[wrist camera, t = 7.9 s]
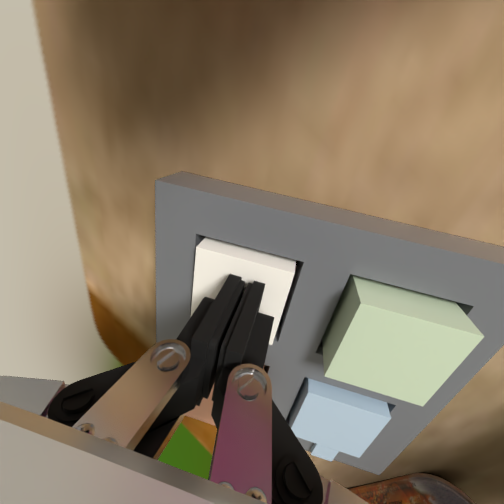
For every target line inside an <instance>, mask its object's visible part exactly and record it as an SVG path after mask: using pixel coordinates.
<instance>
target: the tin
mask: <svg viewBox="0 0 504 504" xmlns="http://www.w3.org/2000/svg"><path fill="white" fill-rule="evenodd" d="M348 490H349V491H351V492H352V493H354V494H356V495H357V496H359V497H360V498H362V499H363V500H365V501H366V502H368V503H369V504H476V503H475V502H474V501H473V500H472V499H471V498H470V497H468V496H467V495H466V494H465V493H464V492H463V491H461V490H460V489H459V488H457V487H456V486H455V485H453V484H451V483H450V482H448V481H446V480H444V479H442V478H440V477H437V476H434V475H431V474H426V473H413V474H409V475H405V476H400V477H396V478H392V479H388V480H384V481H380V482H376V483H372V484H368V485H363V486H359V487H355V488H350V489H348Z"/></svg>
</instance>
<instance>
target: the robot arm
mask: <svg viewBox="0 0 504 504" xmlns="http://www.w3.org/2000/svg"><path fill="white" fill-rule="evenodd" d="M244 286H245V281H242V277H240V276H236V275H233V274H229V276H228V278H227V279H226V281H225V283H224V284H223V286H222V288H221V290H220V291H219V293H218V295H217V296H216V298H215V299H212V298H209V297H204V298H203V299H202V301H201V302H200V304H199V305H198V307H197V308H196V310H195V311H194V313H193V314H192V316H191V317H190V319H189V321H188V322H187V324H186V325H185V327H184V328H183V330H182V331H181V333H180V334H179V336H178V337H177V339H167V340H162V341H160V342H158V343H156V344H154V345H153V346H152V347H151V348H150V349H149V350H148V351H147V352H146V353H145V354H144V355H143V356H142V357H141V358H140V359H139V360H138V361H136V362H133V363H130V364H127V365H124V366H121V367H119V368H115V369H113V370H110V371H106V372H103V373H100V374H97V375H94V376H91V377H88V378H85V379H82V380H80V381H77V382H75V383H73V384H70V385H67V384H65V383H64V381H57V380H46V379H35V378H23V377H12V376H0V504H369V503H368V502H366V501H365V500H363V499H362V498H360V497H359V496H357V495H356V494H354V493H352V492H351V491H349V490H348V489H346V488H345V487H343V486H342V485H340V484H339V483H337V482H336V481H334V480H333V479H331V480H330V481H329V480H327V479H326V478H324V477H323V476H321V475H320V474H319V473H318V471H317V469H316V467H315V465H314V464H313V462H312V461H311V459H310V457H309V456H308V454H307V453H306V451H305V450H304V448H303V447H302V445H301V443H300V442H299V440H298V439H297V437H296V436H295V434H294V432H293V431H292V429H291V428H290V426H289V425H288V423H287V422H286V420H285V418H284V417H283V415H282V414H281V412H280V411H279V409H278V408H277V406H276V404H275V403H274V401H273V400H272V384H271V380H270V378H269V376H268V374H267V373H266V372H265V371H264V370H263V368H264V364H265V359H266V354H267V350H268V345H269V340H270V336H271V331H272V326H273V321H274V317H273V316H269V315H266V314H263V313H259V308H260V304H261V300H262V296H263V292H264V288H265V283H261V282H258V281H254V282H253V283H248V285H247V287H246V289H245V292H244V294H243V291H244ZM214 382H215V383H214ZM213 385H214V389H213V395H212V401H213V407H212V412H211V416H212V418H213V420H214V423H215V425H216V427H217V434H216V439H215V445H214V450H213V456H212V461H211V467H210V472H209V478H208V480H206V479H204V478H201V477H199V476H196V475H193V474H191V473H188V472H186V471H183V470H181V469H178V468H176V467H173V466H170V465H168V464H165V463H163V462H160V461H158V458H159V456H160V455H161V453H162V452H163V450H164V449H165V447H166V445H167V444H168V442H169V441H170V439H171V437H172V435H173V434H174V432H175V431H176V429H177V428H178V426H179V424H180V423H181V421H182V420H183V417H184V415H185V413H187V412H189V411H191V410H193V409H194V408H195V406H196V405H197V406H200V404H201V401H202V399H203V398H206V399H208V397H209V395H210V392H211V390H212V387H213Z"/></svg>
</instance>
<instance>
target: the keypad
mask: <svg viewBox="0 0 504 504" xmlns="http://www.w3.org/2000/svg"><path fill="white" fill-rule="evenodd" d="M155 226H156V343H158V342H160V341H162V340H167V339H177V337H178V336H179V334H180V333H181V331H182V330H183V328H184V327H185V325H186V324H187V322H188V321H189V319H190V317H191V306H192V293H193V281H194V268H195V256H196V247H197V246H198V245H199V244H200V243H201V241H202V240H203V239H204V238H205V237H210V238H214V239H218V240H222V241H225V242H229V243H233V244H237V245H241V246H245V247H248V248H252V249H256V250H260V251H264V252H268V253H272V254H275V255H279V256H283V257H287V258H291V259H295V260H298V264H297V267H296V270H295V274H294V277H293V280H292V283H291V287H290V290H289V293H288V296H287V299H286V303H285V306H284V309H283V312H282V315H281V319H280V322H279V325H278V328H277V331H276V335H275V338H274V341H273V344H272V345H270V344H269V345H268V350H267V354H266V359H265V364H264V365H266V366H265V369H264V371H265V372H266V373H267V374H268V376H269V378H270V380H271V384H272V400H273V401H274V403H275V404H276V406H277V408H278V409H279V411H280V412H281V414H282V415H283V417H284V418H285V420H286V422H287V423H288V425H289V419H290V409H291V407H292V405H293V402H294V400H295V398H296V396H297V393H298V391H299V389H300V387H301V384H302V382H303V380H304V378H305V377H306V378H309V379H313V380H316V381H319V382H322V383H326V384H329V385H332V386H335V387H338V388H342V389H345V390H348V391H351V392H355V393H358V394H361V395H364V396H368V397H371V398H374V399H377V400H380V401H384V402H387V405H388V408H389V412H390V416H391V419H390V420H389V422H388V423H387V424H386V425H385V427H384V428H383V429H382V430H381V432H380V433H379V434H378V435H377V437H376V438H375V439H374V440H373V442H372V443H371V444H370V445H369V447H368V448H367V449H366V450H365V451H364V453H363V454H362V455H361V456H360V458H358V457H355V456H352V455H349V454H346V453H343V452H340V451H337V450H334V449H331V448H328V447H325V446H322V445H319V444H316V443H313V442H310V441H307V440H304V439H301V438H298V437H297V439H298V440H299V442H300V443H301V445H302V447H303V448H304V450H306V451H309V452H311V455H314V456H316V457H319V458H322V459H325V460H328V461H331V462H332V460H336V461H339V462H342V463H345V464H347V465H350V466H353V467H356V468H359V469H362V470H365V471H368V472H371V473H374V474H377V475H380V474H381V473H382V472H383V471H384V470H385V469H386V468H387V467H388V466H389V465H390V464H391V463H392V462H393V460H394V459H395V458H396V457H397V456H398V455H399V454H400V453H401V452H402V451H403V450H404V449H405V448H406V447H407V446H408V445H409V444H410V443H411V442H412V441H413V439H414V438H415V437H416V436H417V435H418V434H419V433H420V432H421V431H422V430H423V429H424V428H425V427H426V426H427V425H428V424H429V423H430V422H431V421H432V420H433V419H434V417H435V416H436V415H437V414H438V413H439V412H440V411H441V410H442V409H443V408H444V407H445V406H446V405H447V404H448V403H449V402H450V401H451V400H452V399H453V398H454V396H455V395H456V394H457V393H458V392H459V391H460V390H461V389H462V388H463V387H464V386H465V385H466V384H467V383H468V382H469V381H470V380H471V379H472V378H473V377H474V375H475V374H476V373H477V372H478V371H479V370H480V369H481V368H482V367H483V366H484V365H485V364H486V363H487V362H488V361H489V360H490V359H491V358H492V357H493V356H494V355H495V353H496V352H497V351H498V350H499V349H500V348H501V347H502V346H503V345H504V247H502V246H498V245H494V244H489V243H485V242H481V241H477V240H472V239H468V238H464V237H460V236H455V235H451V234H447V233H443V232H438V231H434V230H430V229H426V228H421V227H417V226H413V225H409V224H404V223H400V222H396V221H391V220H387V219H383V218H379V217H374V216H370V215H366V214H362V213H357V212H353V211H349V210H345V209H340V208H336V207H332V206H328V205H323V204H319V203H315V202H310V201H306V200H302V199H298V198H293V197H289V196H285V195H281V194H276V193H272V192H268V191H264V190H259V189H255V188H251V187H247V186H242V185H238V184H234V183H229V182H225V181H221V180H217V179H212V178H208V177H204V176H200V175H195V174H191V173H187V172H183V171H182V172H178V173H175V174H172V175H169V176H166V177H163V178H160V179H157V180H155ZM350 274H352V275H356V276H360V277H364V278H367V279H371V280H375V281H379V282H383V283H387V284H390V285H394V286H398V287H402V288H406V289H410V290H413V291H417V292H421V293H425V294H429V295H433V296H436V297H440V298H444V299H448V300H452V301H455V302H456V303H457V305H458V306H459V307H460V308H461V309H462V310H463V312H464V313H465V314H466V315H467V316H468V318H469V319H470V320H471V321H472V322H473V324H474V325H475V326H476V327H477V328H478V329H479V331H480V332H481V333H482V334H483V335H484V338H483V339H482V340H481V341H480V342H479V343H478V345H477V346H476V347H475V348H474V349H473V350H472V351H471V353H470V354H469V355H468V356H467V357H466V358H465V359H464V360H463V362H462V363H461V364H460V365H459V366H458V367H457V368H456V370H455V371H454V372H453V373H452V374H451V375H450V376H449V378H448V379H447V380H446V381H445V382H444V383H443V384H442V385H441V387H440V388H439V389H438V390H437V391H436V392H435V393H434V395H433V396H432V397H431V398H430V399H429V400H428V401H427V403H426V404H425V405H424V406H419V405H416V404H413V403H410V402H406V401H403V400H400V399H397V398H393V397H390V396H387V395H383V394H380V393H377V392H374V391H370V390H367V389H364V388H361V387H357V386H354V385H351V384H348V383H344V382H341V381H338V380H335V379H331V378H328V377H325V376H324V363H323V345H322V337H323V335H324V332H325V330H326V328H327V326H328V323H329V321H330V319H331V317H332V314H333V312H334V310H335V307H336V305H337V303H338V301H339V298H340V296H341V294H342V292H343V289H344V287H345V285H346V283H347V280H348V278H349V276H350Z"/></svg>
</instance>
